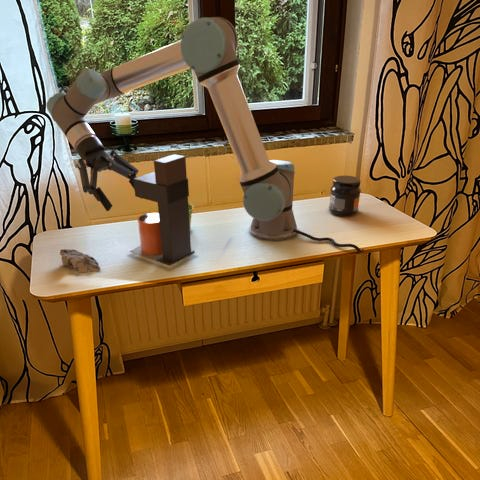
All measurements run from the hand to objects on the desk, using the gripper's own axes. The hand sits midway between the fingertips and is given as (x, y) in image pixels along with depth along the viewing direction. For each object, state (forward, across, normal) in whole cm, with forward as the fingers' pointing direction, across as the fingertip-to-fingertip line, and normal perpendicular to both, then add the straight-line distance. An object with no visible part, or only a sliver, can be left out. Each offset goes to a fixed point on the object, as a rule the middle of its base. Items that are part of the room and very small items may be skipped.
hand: (127, 202), depth 150 cm
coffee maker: (+19, 0, -1) cm, 19 cm away
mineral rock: (+10, +19, -11) cm, 24 cm away
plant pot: (+14, -17, -7) cm, 23 cm away
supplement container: (+39, -66, +18) cm, 78 cm away
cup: (+16, 0, -2) cm, 16 cm away
